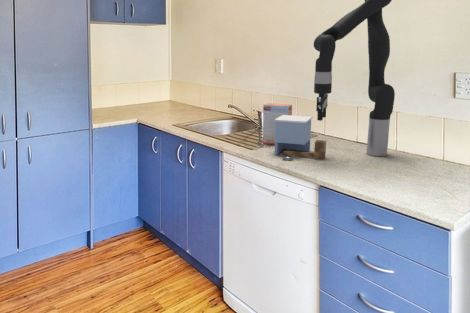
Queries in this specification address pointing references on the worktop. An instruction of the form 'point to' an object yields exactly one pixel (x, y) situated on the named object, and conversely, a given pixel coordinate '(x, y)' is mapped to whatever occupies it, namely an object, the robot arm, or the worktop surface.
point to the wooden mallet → (318, 152)
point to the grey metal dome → (287, 158)
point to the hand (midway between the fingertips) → (321, 118)
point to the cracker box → (268, 120)
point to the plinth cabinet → (292, 133)
